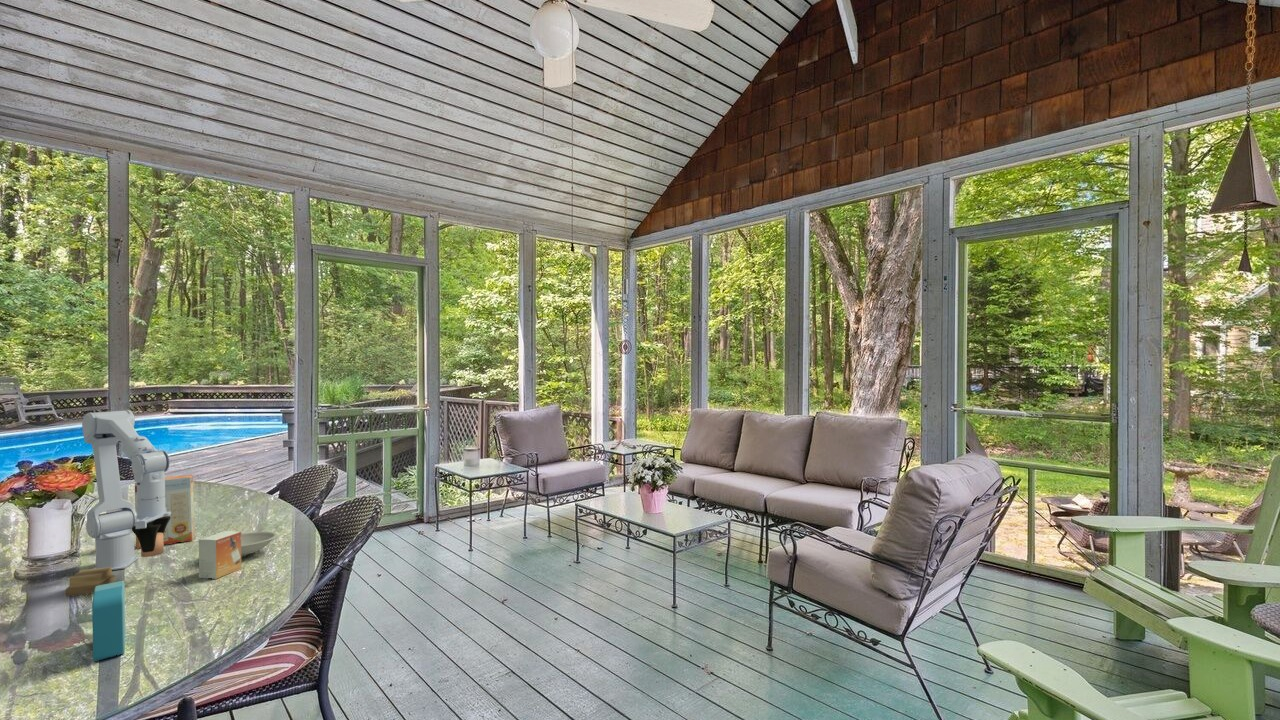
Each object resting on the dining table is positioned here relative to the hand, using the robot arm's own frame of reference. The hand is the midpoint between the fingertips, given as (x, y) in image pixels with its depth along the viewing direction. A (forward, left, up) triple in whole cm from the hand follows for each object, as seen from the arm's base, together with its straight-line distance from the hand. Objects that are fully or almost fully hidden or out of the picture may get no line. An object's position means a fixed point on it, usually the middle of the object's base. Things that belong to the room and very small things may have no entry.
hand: (152, 548), depth 153 cm
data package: (+42, +7, -9) cm, 43 cm away
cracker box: (-37, -8, -9) cm, 39 cm away
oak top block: (+1, -12, -6) cm, 14 cm away
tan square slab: (+1, -12, -9) cm, 15 cm away
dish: (-12, +18, -9) cm, 23 cm away
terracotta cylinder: (0, 0, -2) cm, 2 cm away
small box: (+2, +16, -9) cm, 18 cm away
